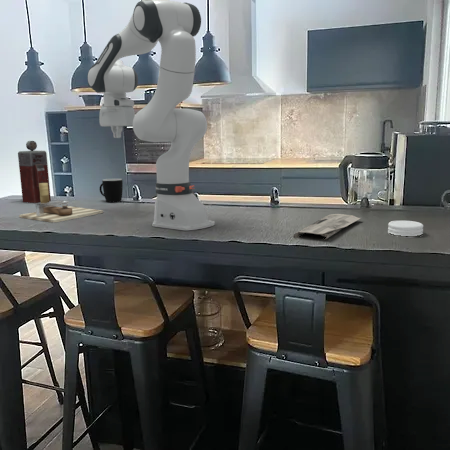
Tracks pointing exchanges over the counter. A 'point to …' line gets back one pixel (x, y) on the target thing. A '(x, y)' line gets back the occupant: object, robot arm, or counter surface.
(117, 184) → the mug
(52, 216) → the pivot board
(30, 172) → the toy vending machine
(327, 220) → the newspaper
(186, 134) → the robot arm
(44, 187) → the tan l-shaped piece
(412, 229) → the white round disc
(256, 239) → the counter surface
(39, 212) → the keeper
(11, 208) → the counter surface
